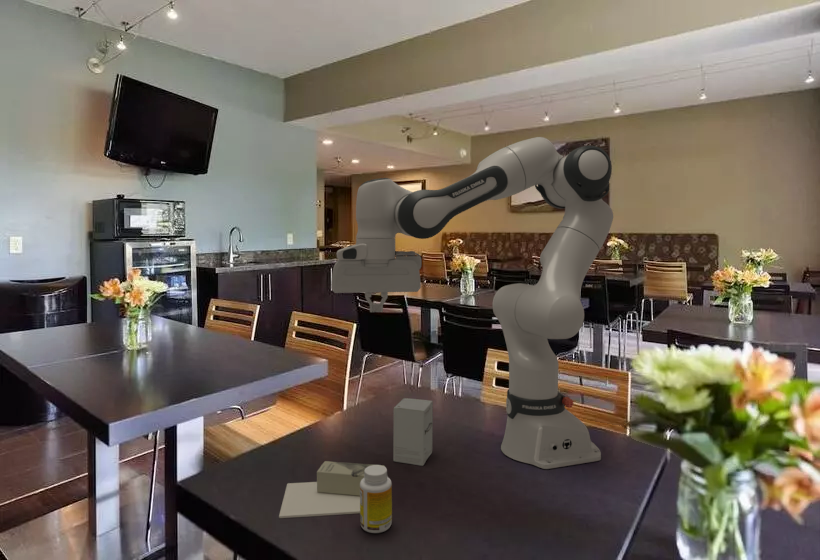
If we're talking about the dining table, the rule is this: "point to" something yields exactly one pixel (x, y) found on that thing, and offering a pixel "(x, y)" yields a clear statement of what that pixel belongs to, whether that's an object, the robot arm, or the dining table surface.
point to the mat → (316, 502)
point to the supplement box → (412, 431)
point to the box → (340, 477)
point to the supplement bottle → (375, 500)
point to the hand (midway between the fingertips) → (376, 311)
